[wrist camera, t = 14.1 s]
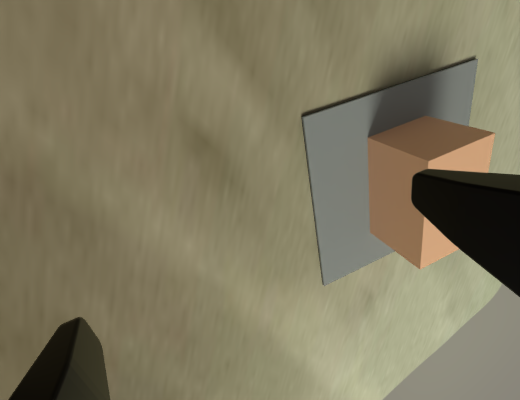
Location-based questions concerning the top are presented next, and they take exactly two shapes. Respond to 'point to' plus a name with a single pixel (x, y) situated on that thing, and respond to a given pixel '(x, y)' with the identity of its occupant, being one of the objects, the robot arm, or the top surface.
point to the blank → (400, 181)
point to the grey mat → (356, 159)
